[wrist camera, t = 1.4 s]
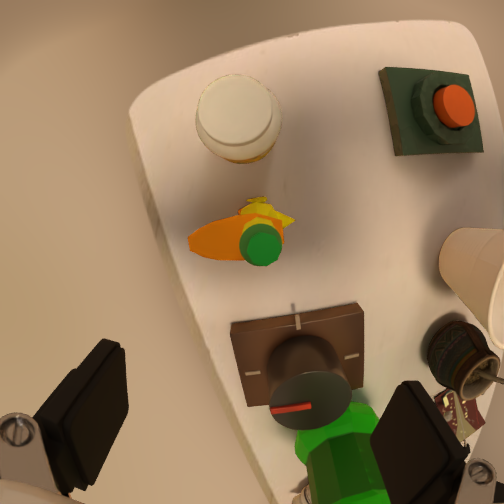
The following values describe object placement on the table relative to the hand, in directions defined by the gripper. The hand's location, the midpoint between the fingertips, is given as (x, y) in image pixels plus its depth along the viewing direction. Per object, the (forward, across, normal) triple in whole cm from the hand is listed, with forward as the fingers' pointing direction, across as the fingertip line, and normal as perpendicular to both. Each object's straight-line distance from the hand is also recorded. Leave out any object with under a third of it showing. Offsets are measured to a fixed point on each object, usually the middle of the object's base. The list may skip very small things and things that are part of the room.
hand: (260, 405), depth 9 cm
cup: (+18, -20, -4) cm, 28 cm away
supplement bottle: (+18, +3, -10) cm, 21 cm away
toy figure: (+18, +1, -3) cm, 19 cm away
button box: (+18, -14, -17) cm, 28 cm away
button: (+15, -14, -17) cm, 26 cm away
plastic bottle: (+18, -12, +17) cm, 28 cm away
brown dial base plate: (+18, -6, +9) cm, 21 cm away
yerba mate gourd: (+18, -23, +6) cm, 30 cm away
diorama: (+18, -35, +20) cm, 44 cm away
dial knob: (+16, -6, +9) cm, 19 cm away
